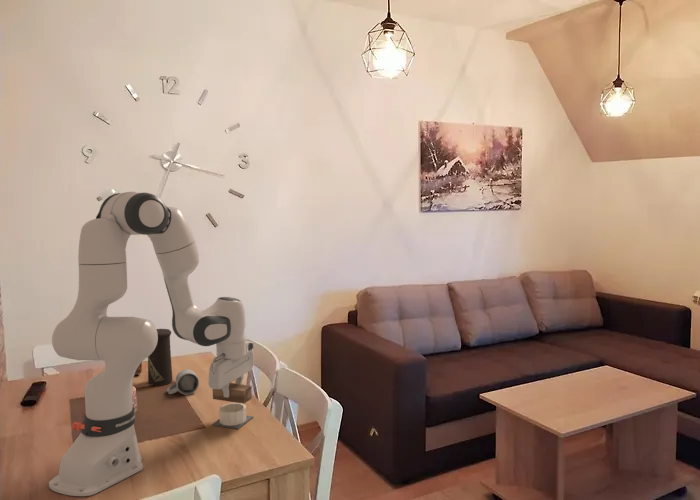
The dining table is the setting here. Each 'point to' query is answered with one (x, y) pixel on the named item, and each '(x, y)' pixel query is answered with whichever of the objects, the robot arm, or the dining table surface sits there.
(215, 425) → the mat
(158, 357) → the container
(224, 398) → the brown wooden block
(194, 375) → the ceramic mug
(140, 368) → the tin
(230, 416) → the bowl
